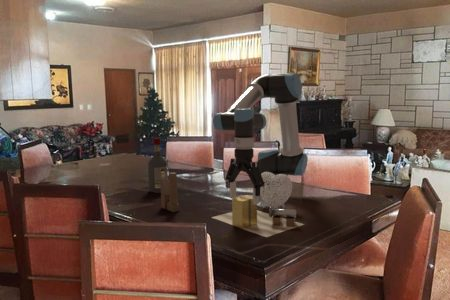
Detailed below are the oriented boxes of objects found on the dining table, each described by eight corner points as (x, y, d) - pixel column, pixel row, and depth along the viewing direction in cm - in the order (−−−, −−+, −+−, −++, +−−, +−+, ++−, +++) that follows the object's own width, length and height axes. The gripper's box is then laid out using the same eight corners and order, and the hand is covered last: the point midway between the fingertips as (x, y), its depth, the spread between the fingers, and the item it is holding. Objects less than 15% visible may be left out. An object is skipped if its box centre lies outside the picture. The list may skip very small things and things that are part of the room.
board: (248, 209, 186) (248, 207, 185) (304, 226, 160) (304, 224, 160) (211, 219, 172) (211, 217, 172) (266, 239, 146) (266, 237, 146)
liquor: (147, 191, 224) (144, 138, 220) (160, 188, 231) (158, 137, 227) (157, 193, 218) (155, 139, 214) (170, 190, 225) (168, 138, 221)
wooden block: (167, 206, 193) (166, 169, 190) (179, 211, 185) (178, 173, 182) (161, 207, 190) (159, 170, 188) (172, 212, 182) (171, 174, 180)
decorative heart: (297, 210, 183) (297, 173, 181) (284, 215, 175) (284, 177, 173) (265, 203, 195) (265, 169, 193) (252, 208, 187) (251, 172, 185)
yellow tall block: (246, 220, 166) (246, 194, 164) (257, 224, 161) (256, 197, 160) (232, 225, 161) (231, 198, 159) (242, 228, 156) (242, 201, 155)
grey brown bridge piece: (269, 225, 160) (269, 208, 159) (270, 221, 165) (270, 205, 164) (295, 227, 157) (295, 210, 156) (296, 223, 162) (296, 206, 161)
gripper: (216, 146, 164) (217, 196, 167) (259, 151, 145) (259, 208, 148) (230, 144, 169) (230, 193, 171) (273, 149, 150) (273, 205, 152)
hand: (244, 200), depth 159 cm, fingers open, 13 cm apart
